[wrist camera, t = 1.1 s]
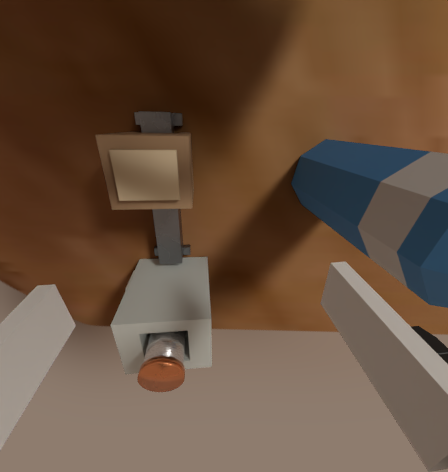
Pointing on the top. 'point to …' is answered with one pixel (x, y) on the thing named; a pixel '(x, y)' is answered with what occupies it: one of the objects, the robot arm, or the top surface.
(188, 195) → the block
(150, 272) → the white box
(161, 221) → the rail
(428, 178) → the water bottle
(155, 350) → the plunger
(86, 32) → the top surface
